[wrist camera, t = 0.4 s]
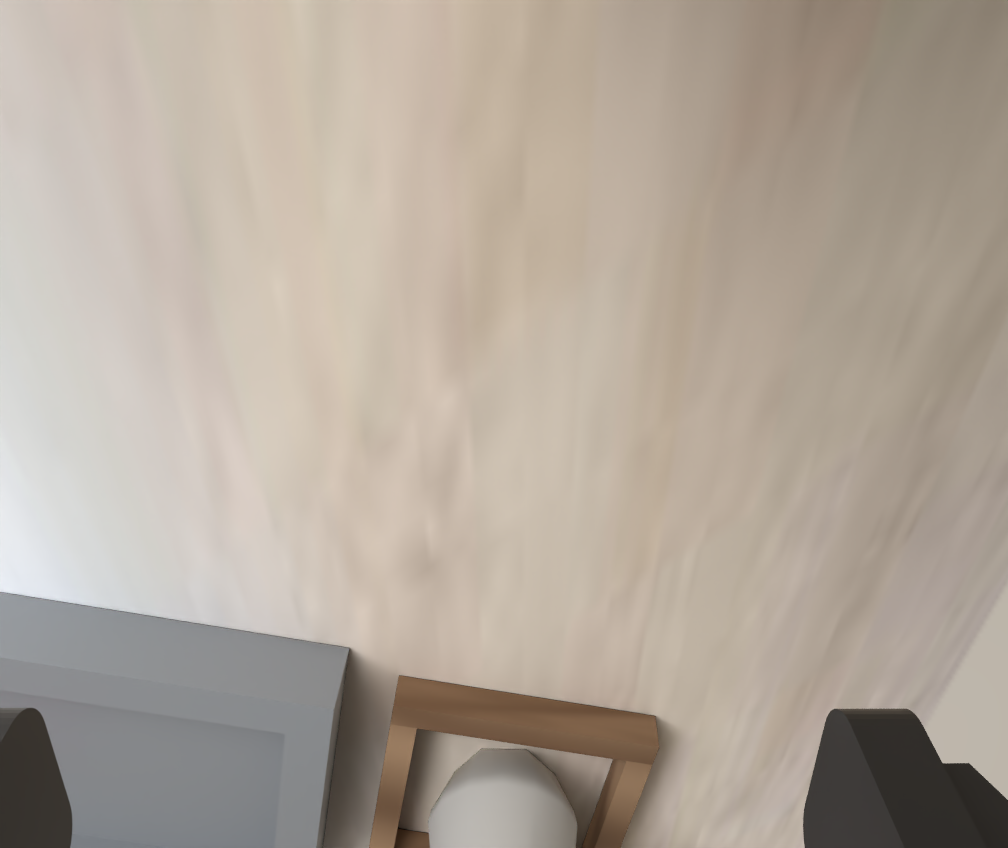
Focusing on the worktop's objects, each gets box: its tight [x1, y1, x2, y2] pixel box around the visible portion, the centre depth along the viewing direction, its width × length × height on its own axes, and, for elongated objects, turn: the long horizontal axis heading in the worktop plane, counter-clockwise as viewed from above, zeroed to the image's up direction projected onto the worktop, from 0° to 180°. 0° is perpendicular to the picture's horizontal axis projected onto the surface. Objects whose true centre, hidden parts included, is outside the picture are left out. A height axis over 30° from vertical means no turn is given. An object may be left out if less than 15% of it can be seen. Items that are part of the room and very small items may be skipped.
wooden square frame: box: [369, 676, 659, 848], centre depth 38 cm, size 10×10×2 cm
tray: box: [0, 592, 349, 848], centre depth 37 cm, size 14×18×3 cm
